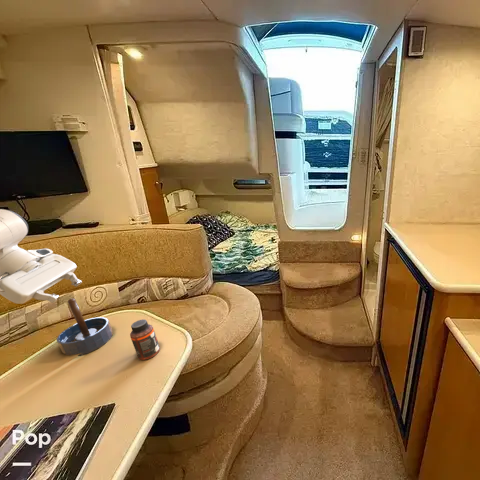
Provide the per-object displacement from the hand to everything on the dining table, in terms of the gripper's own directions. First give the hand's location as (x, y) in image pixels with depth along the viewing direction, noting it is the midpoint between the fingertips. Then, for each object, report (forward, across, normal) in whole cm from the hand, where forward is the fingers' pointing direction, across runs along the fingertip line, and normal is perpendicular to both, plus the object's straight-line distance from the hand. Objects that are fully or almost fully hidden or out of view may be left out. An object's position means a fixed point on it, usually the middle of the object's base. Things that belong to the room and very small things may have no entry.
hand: (68, 291), depth 83 cm
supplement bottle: (+30, -9, -2) cm, 32 cm away
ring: (+14, 0, +15) cm, 20 cm away
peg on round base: (+13, +1, +14) cm, 19 cm away
